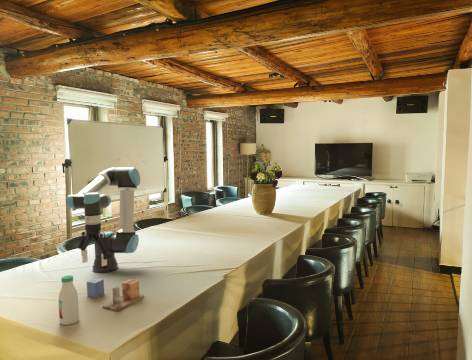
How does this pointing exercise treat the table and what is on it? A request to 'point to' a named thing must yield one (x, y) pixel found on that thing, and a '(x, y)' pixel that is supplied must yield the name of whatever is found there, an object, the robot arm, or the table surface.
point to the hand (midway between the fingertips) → (94, 263)
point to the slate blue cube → (95, 287)
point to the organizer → (124, 296)
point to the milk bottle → (68, 302)
